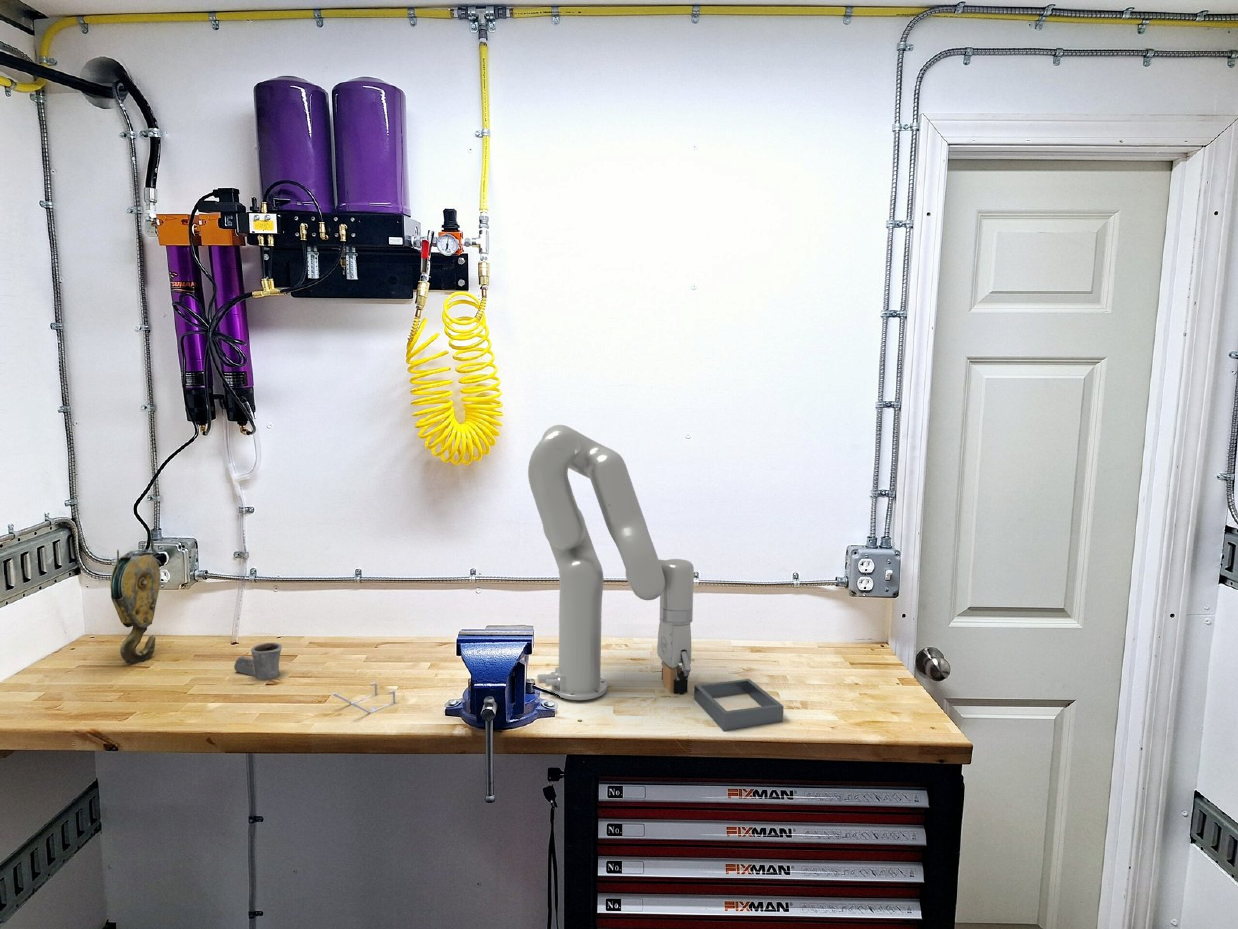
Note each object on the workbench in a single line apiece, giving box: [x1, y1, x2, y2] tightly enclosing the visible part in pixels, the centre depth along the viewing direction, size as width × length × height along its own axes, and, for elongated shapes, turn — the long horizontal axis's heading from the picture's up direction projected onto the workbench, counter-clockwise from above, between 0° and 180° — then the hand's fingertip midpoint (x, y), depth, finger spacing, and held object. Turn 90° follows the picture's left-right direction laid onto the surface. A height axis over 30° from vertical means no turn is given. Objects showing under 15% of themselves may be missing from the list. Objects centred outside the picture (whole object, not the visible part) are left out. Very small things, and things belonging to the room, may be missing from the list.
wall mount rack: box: [332, 682, 396, 714], centre depth 156 cm, size 12×10×4 cm
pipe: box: [234, 642, 283, 681], centre depth 172 cm, size 6×13×8 cm, turn 71°
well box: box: [693, 678, 785, 732], centre depth 156 cm, size 14×15×5 cm
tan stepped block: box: [662, 662, 683, 692], centre depth 168 cm, size 9×4×7 cm, turn 108°
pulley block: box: [110, 539, 162, 665], centre depth 179 cm, size 14×6×30 cm, turn 179°
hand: (674, 689), depth 167 cm, fingers open, 6 cm apart
